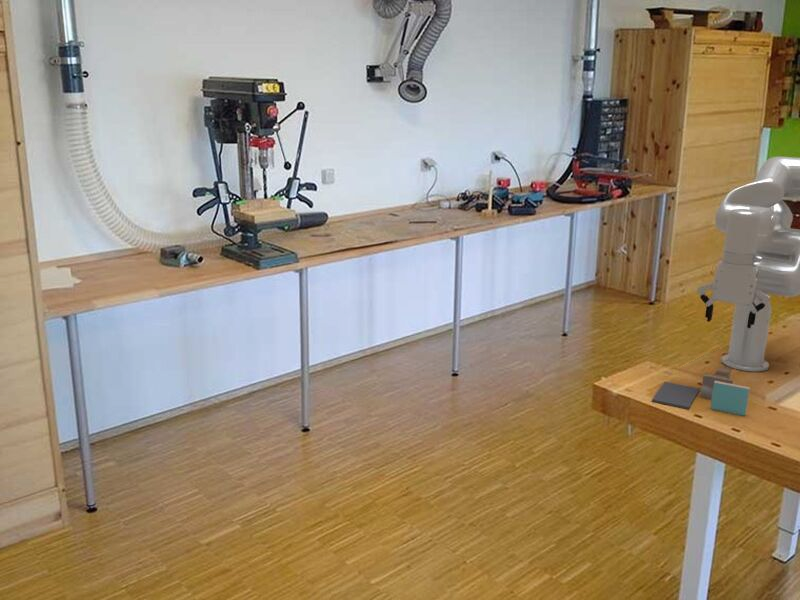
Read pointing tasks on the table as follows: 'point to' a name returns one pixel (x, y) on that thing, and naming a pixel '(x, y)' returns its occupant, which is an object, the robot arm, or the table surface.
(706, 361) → the table surface
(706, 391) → the scraper
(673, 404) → the mat
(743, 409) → the tile
